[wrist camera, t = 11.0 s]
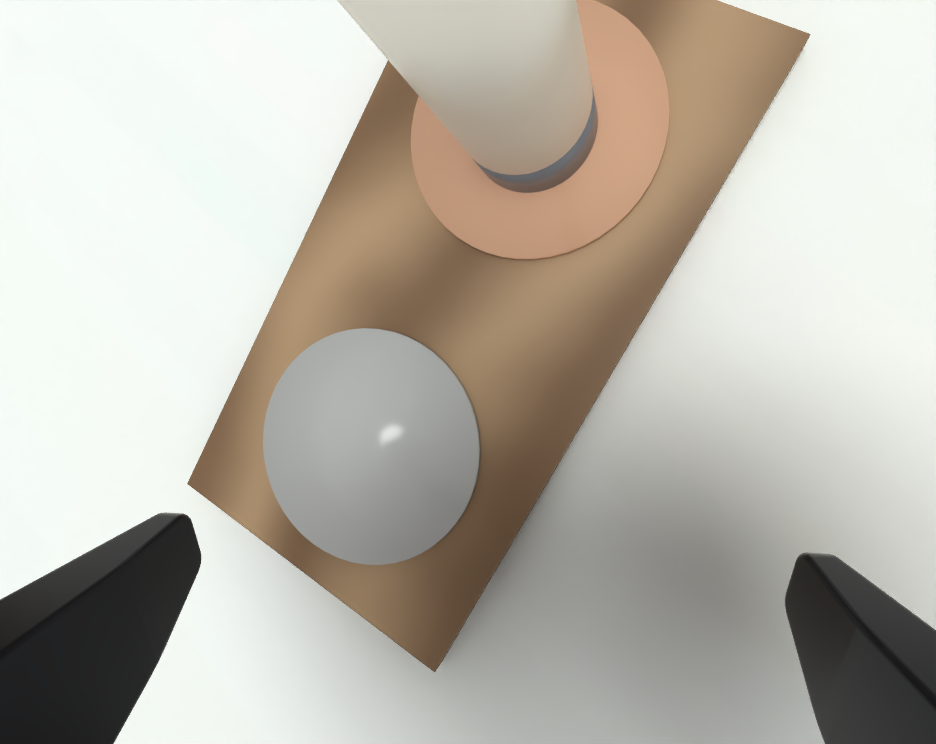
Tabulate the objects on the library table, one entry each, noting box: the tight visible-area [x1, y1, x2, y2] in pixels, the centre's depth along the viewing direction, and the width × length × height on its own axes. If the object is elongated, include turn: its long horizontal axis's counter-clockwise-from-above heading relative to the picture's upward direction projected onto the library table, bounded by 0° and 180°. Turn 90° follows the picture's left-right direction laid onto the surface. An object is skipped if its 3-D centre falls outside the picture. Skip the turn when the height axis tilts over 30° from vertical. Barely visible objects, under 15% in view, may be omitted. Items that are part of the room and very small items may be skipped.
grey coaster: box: [263, 328, 481, 565], centre depth 22 cm, size 9×9×1 cm
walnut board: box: [187, 0, 810, 672], centre depth 22 cm, size 13×25×1 cm, turn 150°
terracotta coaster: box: [411, 0, 670, 260], centre depth 20 cm, size 9×9×1 cm
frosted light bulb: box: [337, 0, 598, 193], centre depth 14 cm, size 4×4×13 cm
